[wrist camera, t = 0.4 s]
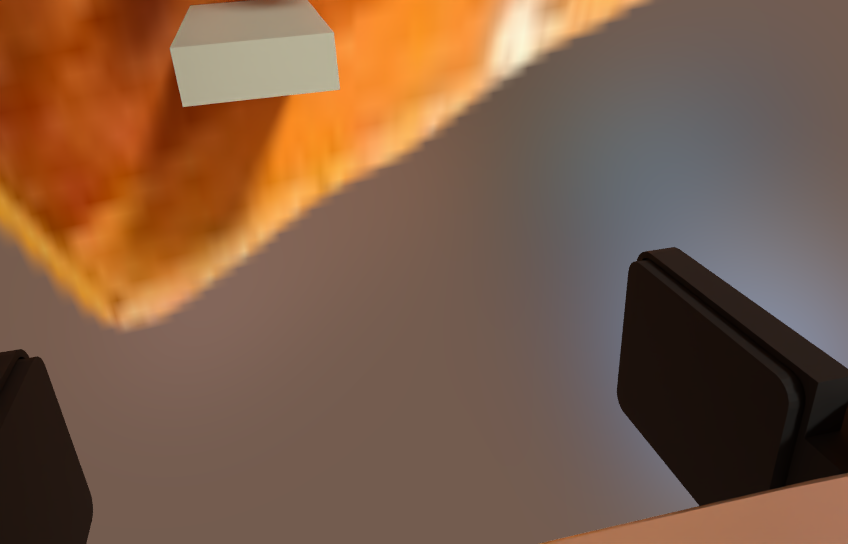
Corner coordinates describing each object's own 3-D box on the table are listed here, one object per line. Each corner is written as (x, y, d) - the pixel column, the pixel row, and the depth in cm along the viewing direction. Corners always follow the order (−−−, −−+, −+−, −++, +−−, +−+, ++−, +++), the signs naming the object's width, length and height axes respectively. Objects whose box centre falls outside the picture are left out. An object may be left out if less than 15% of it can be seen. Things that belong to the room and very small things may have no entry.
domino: (190, 5, 30) (169, 48, 21) (303, -5, 31) (333, 32, 22) (198, 47, 31) (182, 106, 22) (309, 37, 32) (340, 89, 23)
